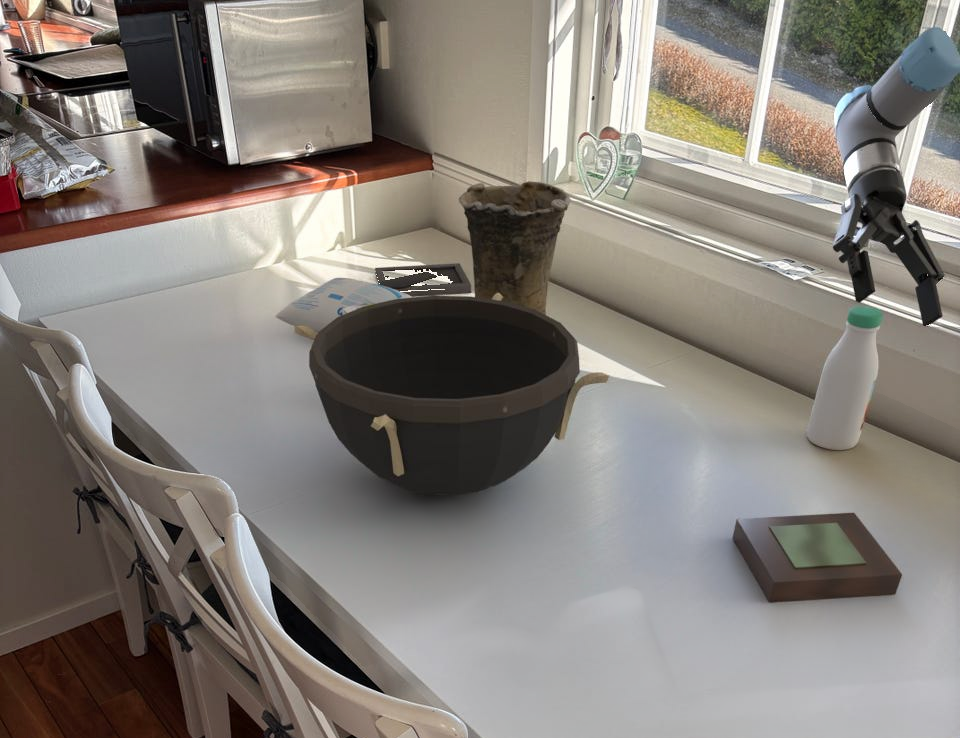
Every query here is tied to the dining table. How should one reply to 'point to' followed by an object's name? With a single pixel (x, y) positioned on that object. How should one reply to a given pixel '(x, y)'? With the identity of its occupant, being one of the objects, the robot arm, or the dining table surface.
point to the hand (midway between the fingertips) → (900, 309)
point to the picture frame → (404, 283)
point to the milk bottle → (847, 383)
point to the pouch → (334, 302)
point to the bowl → (446, 388)
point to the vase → (514, 239)
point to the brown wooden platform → (815, 557)
